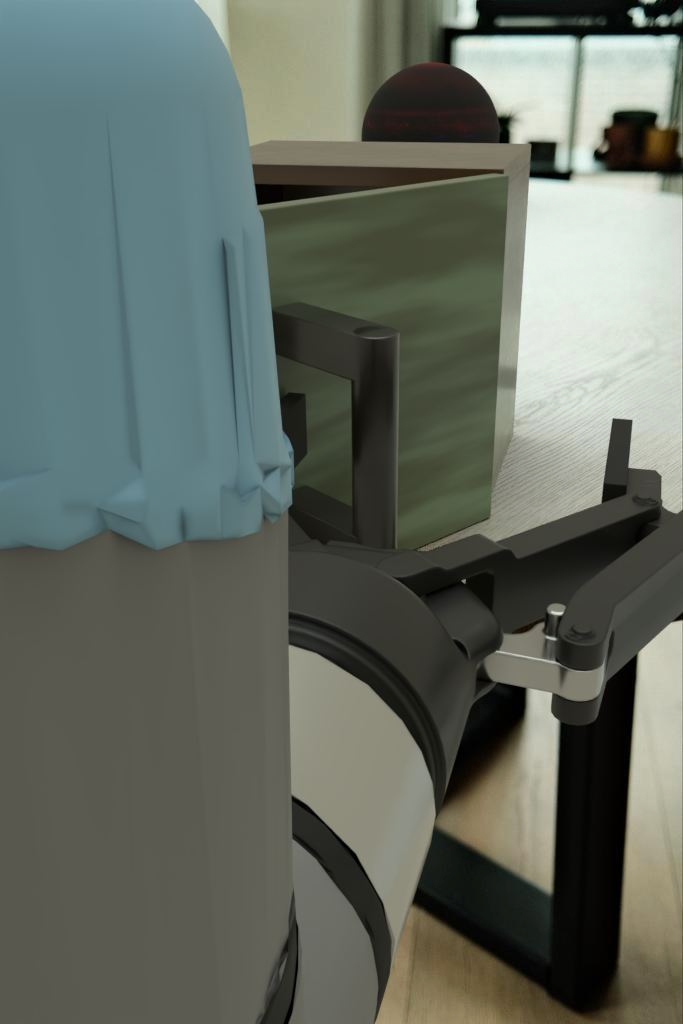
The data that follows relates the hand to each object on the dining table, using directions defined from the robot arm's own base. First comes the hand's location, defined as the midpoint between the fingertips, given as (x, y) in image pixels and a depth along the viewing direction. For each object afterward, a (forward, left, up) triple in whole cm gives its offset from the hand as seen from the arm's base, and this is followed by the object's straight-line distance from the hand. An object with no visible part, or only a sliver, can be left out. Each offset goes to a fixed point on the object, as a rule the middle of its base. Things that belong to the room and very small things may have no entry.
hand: (452, 436), depth 41 cm
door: (-2, +3, -9) cm, 10 cm away
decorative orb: (-24, +116, -9) cm, 119 cm away
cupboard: (-8, +18, -9) cm, 22 cm away
